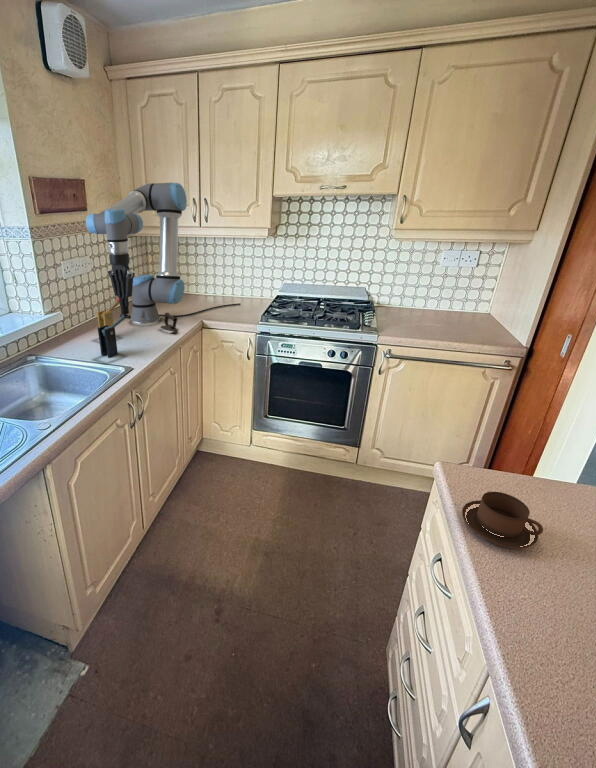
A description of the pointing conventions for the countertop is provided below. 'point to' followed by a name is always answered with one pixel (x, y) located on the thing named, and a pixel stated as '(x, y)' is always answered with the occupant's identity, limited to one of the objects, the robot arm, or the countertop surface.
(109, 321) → the bracket brass
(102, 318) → the lever brass
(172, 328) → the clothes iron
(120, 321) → the lever grey
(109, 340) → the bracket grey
